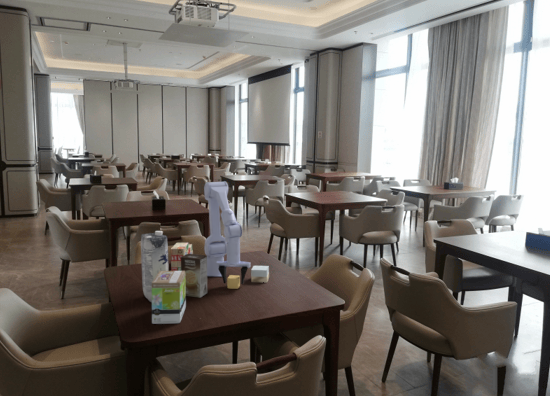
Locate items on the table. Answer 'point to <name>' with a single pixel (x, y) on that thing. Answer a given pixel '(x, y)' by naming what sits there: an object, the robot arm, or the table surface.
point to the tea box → (168, 297)
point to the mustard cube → (233, 281)
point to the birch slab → (260, 279)
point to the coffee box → (195, 274)
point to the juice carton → (153, 259)
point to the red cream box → (179, 254)
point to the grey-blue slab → (260, 271)
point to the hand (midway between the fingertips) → (233, 283)
